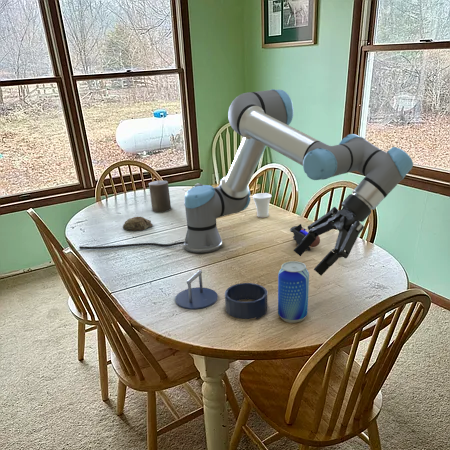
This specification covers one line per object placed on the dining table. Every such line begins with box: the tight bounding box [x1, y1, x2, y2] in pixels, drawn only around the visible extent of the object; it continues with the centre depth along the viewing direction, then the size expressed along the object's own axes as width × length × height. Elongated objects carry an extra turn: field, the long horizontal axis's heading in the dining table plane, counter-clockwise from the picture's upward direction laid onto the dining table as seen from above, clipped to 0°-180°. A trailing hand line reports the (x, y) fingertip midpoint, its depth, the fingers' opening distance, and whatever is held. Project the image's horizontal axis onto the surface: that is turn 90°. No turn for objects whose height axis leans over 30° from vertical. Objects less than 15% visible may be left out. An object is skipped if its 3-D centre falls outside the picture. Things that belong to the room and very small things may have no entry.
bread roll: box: [122, 216, 154, 232], centre depth 203 cm, size 13×12×5 cm
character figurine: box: [289, 223, 321, 252], centre depth 172 cm, size 8×7×15 cm
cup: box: [251, 192, 272, 219], centre depth 206 cm, size 9×9×10 cm
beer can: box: [277, 260, 310, 324], centre depth 124 cm, size 8×8×16 cm
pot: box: [224, 282, 268, 320], centre depth 131 cm, size 12×12×6 cm
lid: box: [174, 269, 219, 310], centre depth 137 cm, size 13×13×9 cm
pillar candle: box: [148, 180, 172, 213], centre depth 222 cm, size 10×10×15 cm
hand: (306, 262), depth 121 cm, fingers open, 13 cm apart
